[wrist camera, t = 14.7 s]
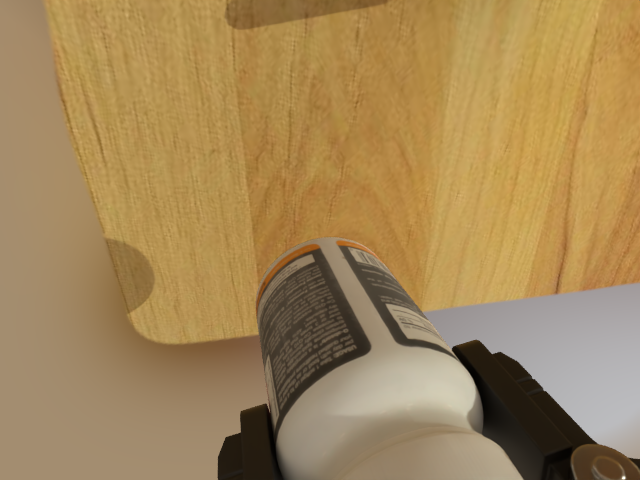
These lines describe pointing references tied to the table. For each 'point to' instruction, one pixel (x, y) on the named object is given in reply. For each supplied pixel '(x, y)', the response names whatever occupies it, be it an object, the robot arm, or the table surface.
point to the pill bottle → (364, 375)
